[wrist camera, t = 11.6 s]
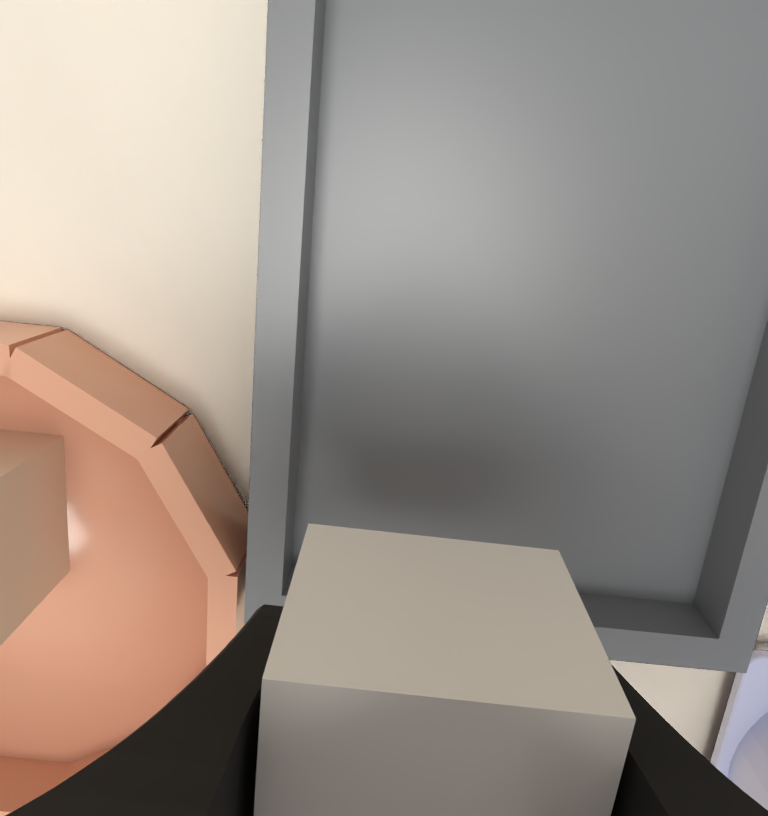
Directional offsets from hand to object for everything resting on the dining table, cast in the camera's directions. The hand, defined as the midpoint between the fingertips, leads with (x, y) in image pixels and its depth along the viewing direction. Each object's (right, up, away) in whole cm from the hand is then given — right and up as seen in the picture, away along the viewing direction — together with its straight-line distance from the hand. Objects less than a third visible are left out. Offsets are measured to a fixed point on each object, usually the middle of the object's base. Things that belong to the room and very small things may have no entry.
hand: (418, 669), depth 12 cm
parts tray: (+3, +8, +6) cm, 11 cm away
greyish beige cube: (0, 0, +1) cm, 1 cm away
